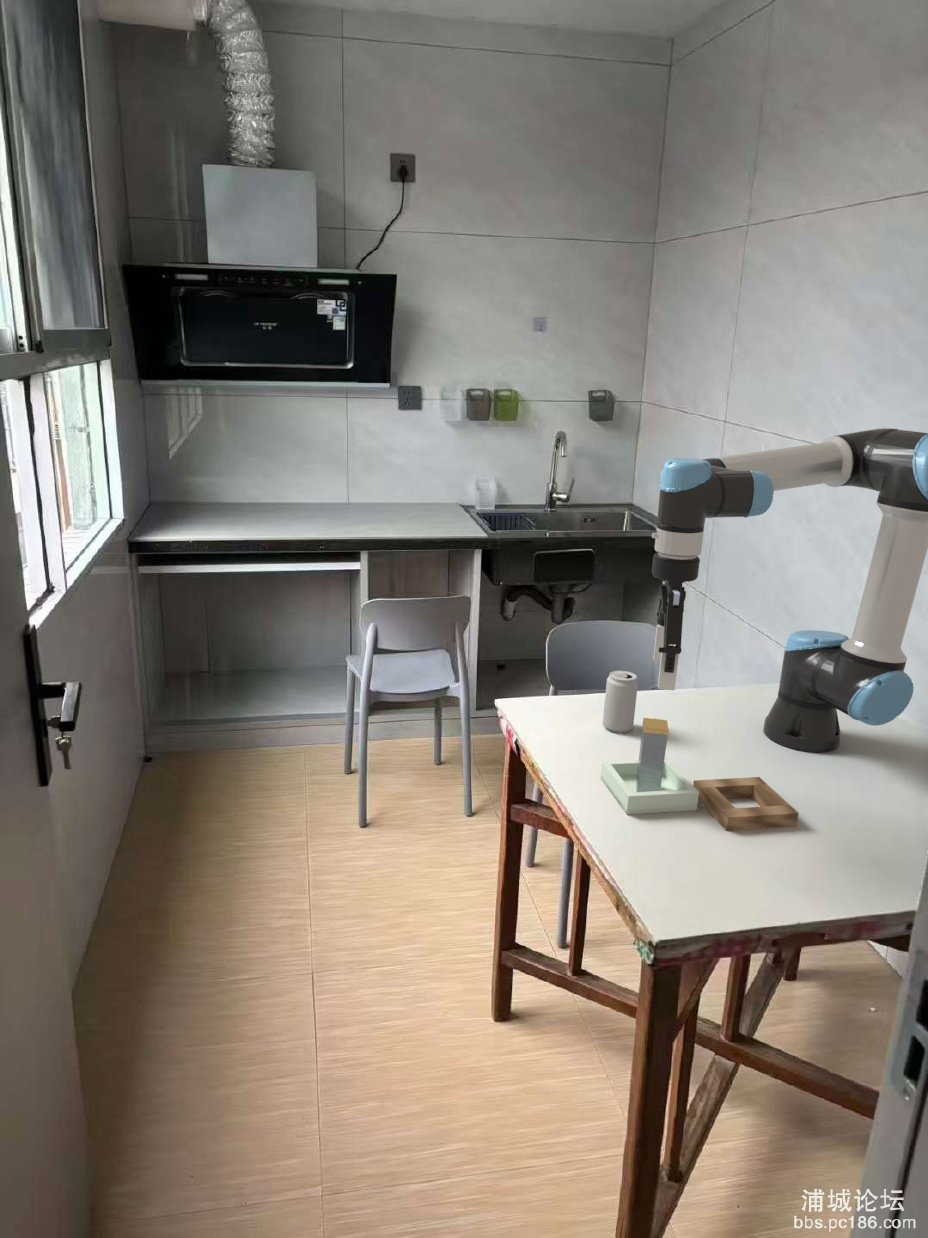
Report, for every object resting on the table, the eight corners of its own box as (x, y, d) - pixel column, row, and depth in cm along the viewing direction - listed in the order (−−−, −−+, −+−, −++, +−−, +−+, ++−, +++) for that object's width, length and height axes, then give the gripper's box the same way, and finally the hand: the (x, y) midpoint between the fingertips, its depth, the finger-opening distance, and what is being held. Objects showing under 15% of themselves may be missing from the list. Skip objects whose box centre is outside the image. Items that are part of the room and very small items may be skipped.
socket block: (757, 789, 160) (759, 776, 159) (796, 826, 148) (798, 813, 147) (692, 792, 157) (693, 780, 157) (726, 830, 145) (728, 817, 144)
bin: (665, 775, 163) (668, 758, 162) (696, 810, 151) (699, 792, 150) (600, 778, 161) (602, 761, 160) (626, 814, 149) (628, 796, 148)
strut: (635, 783, 158) (643, 717, 154) (658, 785, 158) (666, 720, 154) (636, 793, 154) (644, 727, 150) (659, 796, 154) (668, 729, 150)
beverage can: (632, 736, 180) (638, 682, 176) (601, 732, 181) (606, 678, 177) (632, 723, 186) (639, 671, 182) (602, 720, 187) (608, 667, 183)
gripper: (649, 537, 155) (638, 648, 162) (658, 570, 132) (644, 699, 138) (692, 539, 154) (679, 652, 161) (708, 574, 131) (692, 704, 137)
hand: (663, 674), depth 149 cm, fingers open, 13 cm apart
